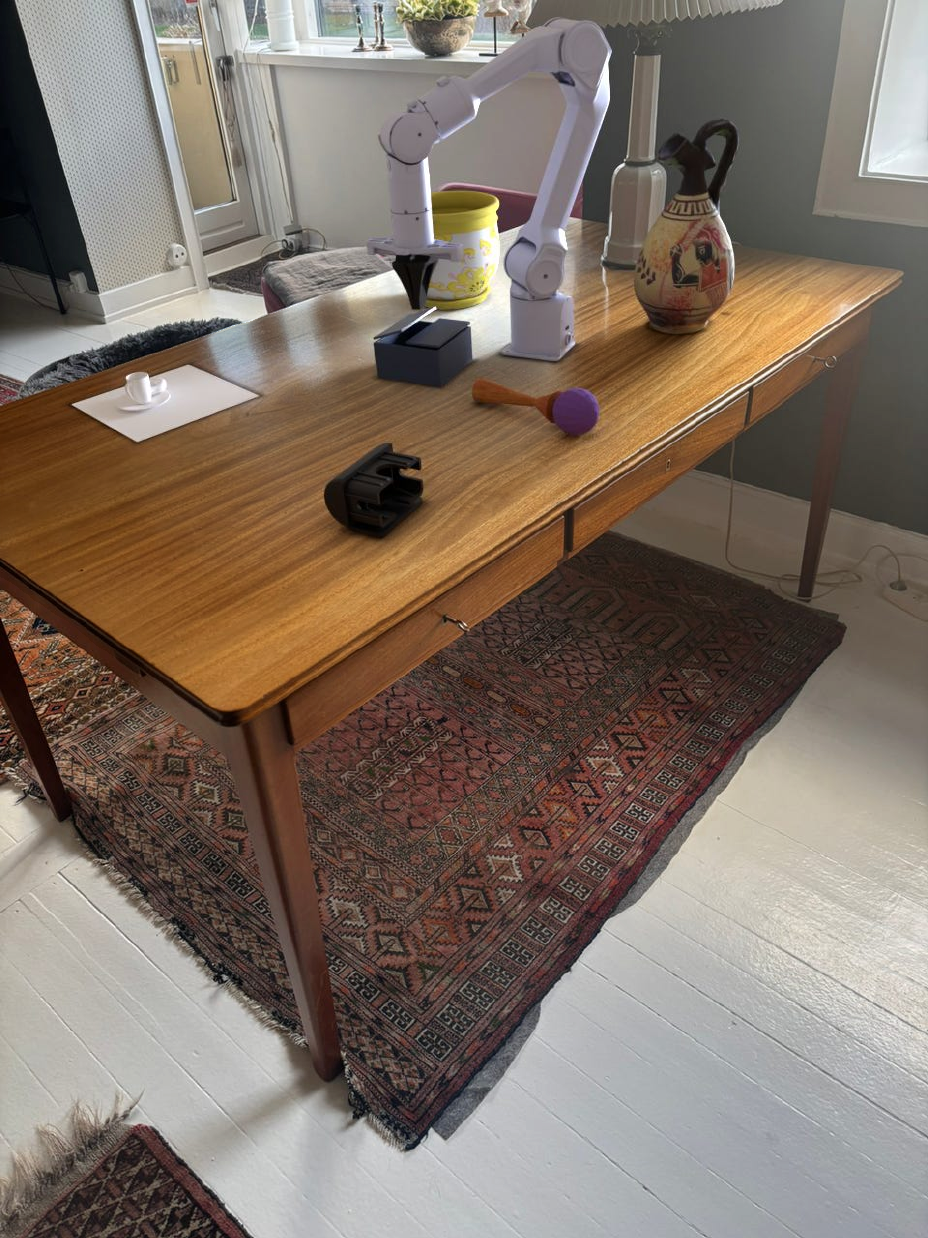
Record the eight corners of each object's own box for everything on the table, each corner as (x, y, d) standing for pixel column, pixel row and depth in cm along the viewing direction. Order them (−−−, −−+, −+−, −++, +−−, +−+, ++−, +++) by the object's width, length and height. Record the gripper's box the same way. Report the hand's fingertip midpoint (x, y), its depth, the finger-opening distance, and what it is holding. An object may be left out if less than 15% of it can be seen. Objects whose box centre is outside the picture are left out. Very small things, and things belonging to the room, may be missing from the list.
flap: (373, 339, 138) (373, 337, 138) (408, 316, 145) (407, 314, 145) (402, 331, 135) (401, 329, 135) (436, 308, 143) (435, 306, 142)
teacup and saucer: (158, 385, 143) (152, 359, 141) (186, 398, 138) (179, 372, 136) (105, 404, 138) (98, 377, 136) (132, 418, 134) (124, 391, 131)
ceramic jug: (657, 347, 145) (673, 133, 128) (616, 317, 157) (625, 117, 140) (755, 331, 149) (784, 120, 131) (708, 303, 161) (728, 106, 143)
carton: (377, 377, 141) (372, 337, 138) (411, 352, 149) (408, 314, 145) (440, 386, 137) (437, 345, 134) (472, 360, 145) (470, 321, 141)
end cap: (376, 489, 113) (370, 437, 109) (426, 500, 110) (422, 448, 106) (327, 528, 106) (318, 474, 102) (379, 541, 103) (373, 486, 99)
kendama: (495, 366, 132) (610, 388, 119) (493, 408, 134) (606, 435, 122) (465, 371, 128) (581, 395, 116) (464, 414, 131) (578, 442, 118)
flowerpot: (382, 300, 171) (372, 204, 162) (457, 277, 180) (452, 185, 171) (445, 322, 160) (438, 220, 150) (522, 296, 169) (520, 199, 159)
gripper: (351, 213, 129) (362, 311, 138) (444, 219, 124) (450, 321, 132) (376, 201, 135) (386, 296, 143) (467, 206, 129) (472, 305, 137)
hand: (418, 307), depth 138 cm, fingers closed
